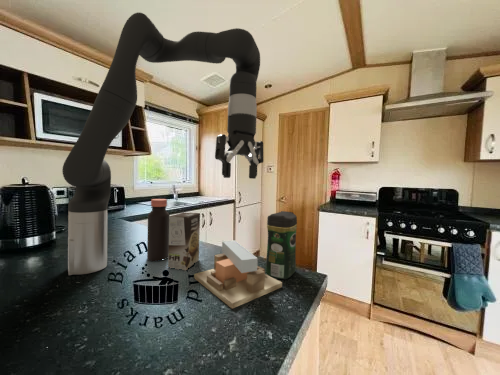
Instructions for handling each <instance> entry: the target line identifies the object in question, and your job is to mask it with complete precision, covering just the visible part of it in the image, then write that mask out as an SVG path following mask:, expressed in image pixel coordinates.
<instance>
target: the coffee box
mask: <svg viewBox="0 0 500 375" xmlns="http://www.w3.org/2000/svg"><path fill="white" fill-rule="evenodd" d="M169 217H170V218H169V253H168V258H167V259H168V261H167V262H168V263H167V268H168V267H170V268H169V269H171V268H175V269H174V270H179V269H182V270H181V271H187V270H188V268H189V269H190V268H191V267H192V266H193V265H195V264H196V263H197V262H198V261H200V234H201V233H200V230H201V229H200V228H201V212H181V213H180V212H179V213H177V214H173V215H170V216H169ZM194 263H195V264H194Z"/></svg>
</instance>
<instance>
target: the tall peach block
mask: <svg viewBox="0 0 500 375" xmlns="http://www.w3.org/2000/svg"><path fill="white" fill-rule="evenodd" d="M247 273H249V272H245V273H241V272H240V271H239V270H238V268H237V267H236V266H235V265H234V264H233V263H232V262H231V261H230V260H229V259H225V260H221V261H217V262H216V274H215V278H216V279H217V280H219V281H220V282H222V283H223V287H224V280H227V279H230V278H233V277H234V278H236V282H239V281H242V280H245V279H247Z"/></svg>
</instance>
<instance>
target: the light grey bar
mask: <svg viewBox="0 0 500 375" xmlns="http://www.w3.org/2000/svg"><path fill="white" fill-rule="evenodd" d="M221 244H222V245H221V252H222V253H224V254H225V255H226V256H227V257H228V258H229V260H230V261H231V262H232V263H233V264H234V265H235V266H236V267H237V268H238V270H239V271H240V272H241V273H245V272H252V271H257V266H258V263H259V262H258V260H259V259H258V257H257V256H255V255H254V254H253V253H252V252H251V251H249V250H248V249H247V248H246V247H244V246H243V245H241V243H239V242H238V241H237V240H235V239H234V240H232V239H231V240H222V241H221Z"/></svg>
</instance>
